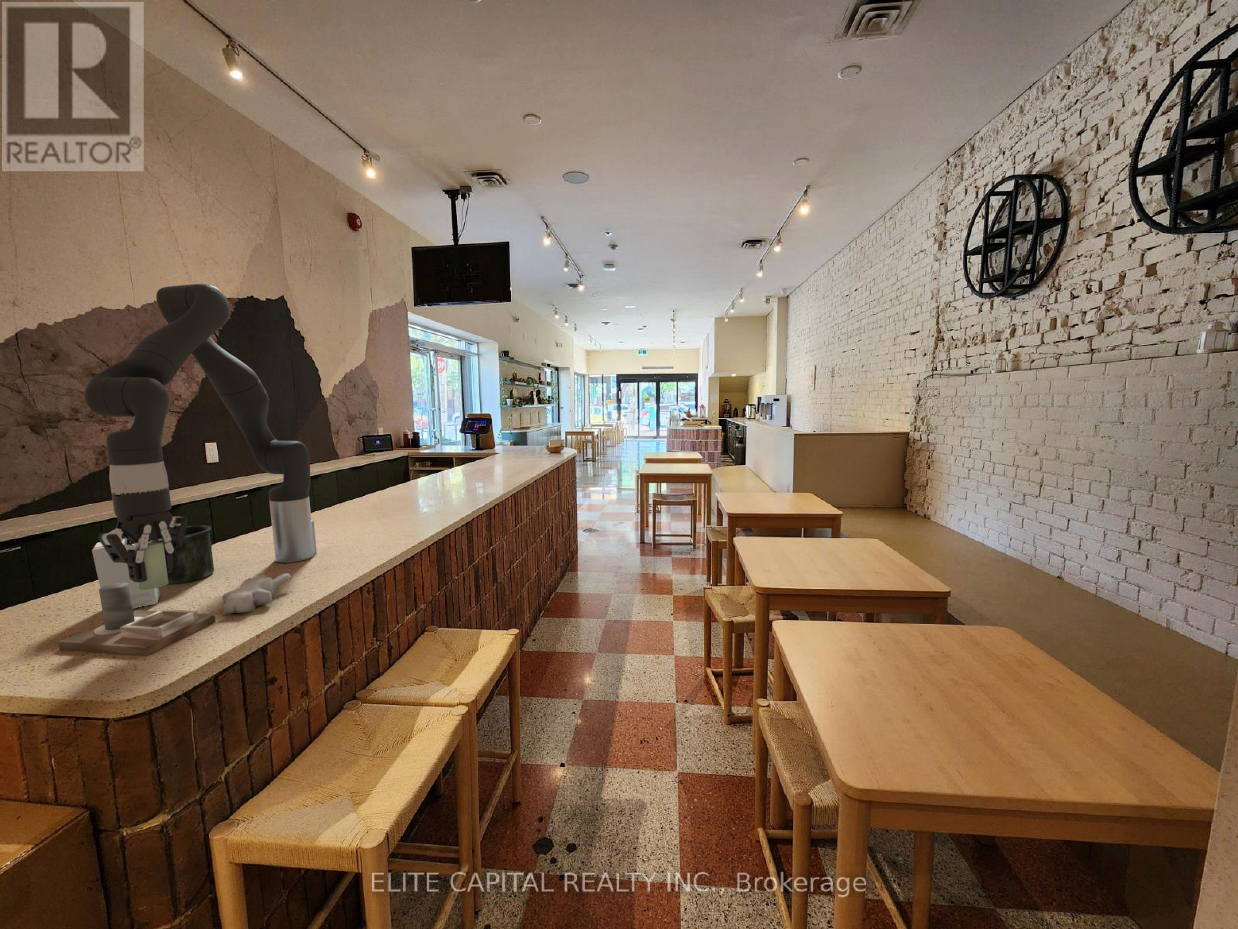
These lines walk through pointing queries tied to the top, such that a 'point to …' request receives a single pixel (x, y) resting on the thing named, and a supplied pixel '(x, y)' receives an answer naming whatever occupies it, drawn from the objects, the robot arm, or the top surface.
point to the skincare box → (121, 577)
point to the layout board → (134, 626)
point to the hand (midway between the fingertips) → (152, 576)
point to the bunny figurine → (252, 593)
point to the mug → (192, 556)
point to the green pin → (154, 566)
